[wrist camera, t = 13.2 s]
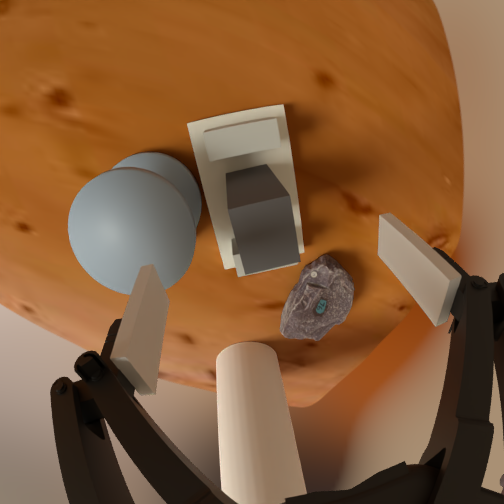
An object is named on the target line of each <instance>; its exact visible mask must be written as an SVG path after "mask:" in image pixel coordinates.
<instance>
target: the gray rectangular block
mask: <svg viewBox="0 0 504 504" xmlns="http://www.w3.org/2000/svg"><path fill="white" fill-rule="evenodd" d="M225 174H226V191H227V208H228V213H229V217H230V221H231V224H232V228H233V232H234V235H235V239H236V243H237V246H238V250H239V254H240V257H241V261H242V265H243V268H244V272H245V275H247V274H251V273H256V272H260V271H264V270H268V269H272V268H277V267H281V266H285V265H289V264H293V263H297V262H301V261H300V254H299V248H298V241H297V235H296V228H295V222H294V216H293V210H292V204H291V198H290V195H289V193H288V192H287V190H286V189H285V188H284V186H283V185H282V184H281V182H280V181H279V180H278V178H277V177H276V176H275V174H274V173H273V172H272V170H271V169H270V168H269V167H268V165H267V164H264V165H259V166H255V167H250V168H246V169H242V170H237V171H233V172H229V173H225Z"/></svg>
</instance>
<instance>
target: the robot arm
mask: <svg viewBox="0 0 504 504" xmlns="http://www.w3.org/2000/svg"><path fill="white" fill-rule="evenodd" d="M378 256H379V257H380V258H381V259H382V260H383V262H384V263H385V264H386V265H387V266H388V267H389V269H390V270H391V271H392V272H393V273H394V275H395V276H396V277H397V278H398V279H399V281H400V282H401V283H402V284H403V285H404V287H405V288H406V289H407V290H408V292H409V293H410V294H411V295H412V297H413V298H414V299H415V300H416V302H417V303H418V304H419V305H420V307H421V308H422V309H423V311H424V312H425V313H426V315H427V316H428V317H429V319H430V320H431V321H432V323H433V324H434V325H435V327H436V326H438V325H440V324H443V323H445V322H447V320H448V317H449V315H450V312H451V314H452V315H453V316H454V319H453V322H452V324H451V327H450V330H449V332H448V333H450V332H451V330H452V332H451V342H450V349H449V357H448V364H447V370H446V375H445V381H444V387H443V391H442V396H441V400H440V404H439V409H438V413H437V417H436V420H435V424H434V428H433V431H432V434H431V438H430V441H429V444H428V446H427V448H426V450H425V452H424V453H423V455H422V457H421V459H420V462H419V464H411V465H406V463H405V461H404V462H402V463H399V464H397V465H395V466H392V467H390V468H388V469H385V470H383V471H380V472H378V473H376V474H375V475H373V476H372V477H370V478H368V479H367V480H365V481H364V482H362V483H361V484H359V485H357V486H355V487H353V488H352V489H349V490H340V491H321V492H312V493H308V494H304V495H299V496H294V497H289V498H285V502H283V503H281V504H504V474H503V475H502V477H501V479H500V485H501V486H502V487H503V490H502V493H501V494H500V493H497V492H494V491H492V490H489V489H486V488H483V487H481V485H482V482H483V478H484V475H485V471H486V467H487V463H488V459H489V454H490V449H491V444H492V439H493V434H494V426H493V424H492V423H490V422H489V414H490V406H491V397H492V385H493V366H494V364H495V369H496V374H497V380H498V387H499V394H500V401H501V410H502V420H503V436H504V273H502V274H501V275H500V276H499V279H498V282H494V283H488V282H487V281H486V280H485V279H484V278H482V277H479V276H469V275H468V274H467V273H466V272H465V271H464V270H463V269H462V268H461V267H460V266H459V265H458V264H457V263H456V262H454V260H453V259H451V258H450V257H449V256H448V255H447V254H446V253H445V252H444V251H442V250H440V249H438V248H436V247H434V248H431V247H430V246H429V245H428V244H427V243H426V242H425V241H424V240H422V239H421V238H420V237H419V236H418V235H417V234H415V233H414V232H413V231H412V230H411V229H409V228H408V227H407V226H406V225H405V224H403V223H402V222H401V221H400V220H399V219H397V218H396V217H395V216H394V215H392V214H391V213H386V214H381V215H379V240H378ZM169 302H170V301H169V299H168V296H167V294H166V292H165V290H164V287H163V285H162V283H161V281H160V278H159V276H158V274H157V271H156V269H155V267H154V264H149V265H145V266H141V268H140V271H139V273H138V276H137V279H136V281H135V284H134V287H133V289H132V292H131V295H130V298H129V301H128V303H127V306H126V309H125V312H124V315H123V318H122V319H116V320H115V321H114V323H113V324H112V325H111V326H110V329H109V332H108V334H107V335H108V336H107V337H106V340H105V343H104V346H103V349H102V352H101V356H100V355H99V354H98V353H97V352H96V351H87V352H85V353H83V354H82V355H81V356H79V357H78V359H77V360H76V362H75V365H74V368H75V372H76V373H77V374H78V375H79V376H80V377H81V378H82V380H79V381H76V382H72V381H71V380H70V379H69V378H68V377H61V378H59V379H57V380H56V381H55V382H54V384H53V385H52V387H51V392H50V395H51V408H52V418H53V426H54V435H55V442H56V447H57V454H58V458H59V464H60V469H61V473H62V478H63V482H64V486H65V490H66V493H67V497H68V500H69V503H70V504H135V503H134V501H133V499H132V497H131V494H130V492H129V490H128V487H127V485H126V483H125V480H124V477H123V475H122V472H121V470H120V467H119V464H118V461H117V458H116V456H115V453H114V450H113V447H112V443H111V441H110V437H109V434H108V430H107V427H106V424H105V420H104V418H105V419H106V421H107V423H108V424H109V426H110V427H111V429H112V431H113V433H114V434H115V436H116V437H117V439H118V440H119V441H120V443H121V445H122V446H123V448H124V449H125V451H126V452H127V453H128V455H129V456H130V458H131V459H132V461H133V462H134V463H135V465H136V466H137V467H138V469H139V470H140V471H141V473H142V474H143V475H144V477H145V478H146V479H147V480H148V482H149V483H150V484H151V485H152V487H153V488H154V489H155V490H156V491H157V493H158V494H159V495H160V496H161V497H162V498H163V500H164V501H165V502H166V503H167V504H238V503H237V502H235V501H234V500H232V499H231V498H230V497H229V496H228V495H226V494H225V493H224V492H223V491H222V490H221V489H219V488H218V487H217V486H216V485H215V484H214V483H213V482H212V481H210V480H209V479H208V478H207V477H206V476H205V475H204V474H203V473H202V472H201V471H200V470H199V469H198V468H197V467H196V466H195V465H194V464H192V462H191V461H190V460H189V459H188V458H187V457H186V456H185V455H184V454H183V453H182V452H181V451H180V450H179V449H178V448H177V447H176V446H175V445H174V443H173V442H172V441H171V440H170V439H169V438H168V437H167V436H166V435H165V433H164V432H163V431H162V430H161V429H160V428H159V427H158V425H157V424H156V423H155V422H154V420H153V419H152V418H151V417H150V416H149V415H148V413H147V412H146V411H145V409H144V408H143V407H142V406H141V404H140V403H139V402H138V400H137V399H136V398H135V397H134V391H135V389H136V391H137V392H138V393H139V394H140V395H154V394H156V387H157V379H158V371H159V364H160V357H161V350H162V343H163V337H164V331H165V325H166V319H167V313H168V307H169ZM503 439H504V437H503Z"/></svg>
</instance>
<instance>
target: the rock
mask: <svg viewBox="0 0 504 504" xmlns="http://www.w3.org/2000/svg"><path fill="white" fill-rule="evenodd" d="M352 280H353V279H352V277H351V276H350V275H349V274H348V273H347V272H346V270H344V269H343V267H342V266H341V265H340V264H339V263H338V262H337V261H336V260H335V259H333V258H332V257H331V256H330V255H326V254H325V255H323V256H320V257H319V258H318V259H317V260H315V261H314V262H313V263H312V264H309V265H306V266H305V267H304V269H303V270H302V272H301V275H300V279H299V282H298V283H297V284H296V285H295V286H294V288H293V290H292V291H291V293H290V295H289V297H288V299H287V302H286V303H285V306H284V309H283V312H282V315H281V325H280V332H281V333H282V335H283V336H284V337H286V338H289V339H292V338H296V339H303V338H305V339H306V338H309V339H314V340H316V341H319V340H320V339H321V338H322V337H323V336H324V335H325V334H326V333H327V332H328V331H329V330H330V329H331V328H332V327H333V326H334V325H335V324H338V325H339V324H341V323H342V322H343V321H344V320H345V319H346V317H347V315H348V313H349V311H350V309H351V306H352V301H353V293H354V290H355V289H354V283H353V282H352Z"/></svg>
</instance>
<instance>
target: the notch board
mask: <svg viewBox="0 0 504 504" xmlns="http://www.w3.org/2000/svg"><path fill="white" fill-rule="evenodd" d="M187 125H188V130H189V134H190V138H191V142H192V146H193V150H194V154H195V159H196V163H197V167H198V171H199V174H200V178H201V182H202V186H203V190H204V194H205V198H206V202H207V205H208V209H209V213H210V217H211V221H212V224H213V228H214V232H215V235H216V239H217V243H218V246H219V250H220V253H221V257H222V261H223V264H224V268H225V269H229V268H234V267H236V270H237V274H238V277H241V276H246V275H245V272H244V268H243V265H242V261H241V257H240V254H239V250H238V246H237V243H236V239H235V235H234V232H233V228H232V224H231V221H230V217H229V213H228V208H227V191H226V174H225V173H229V172H233V171H237V170H242V169H246V168H250V167H255V166H259V165H264V164H267V165H268V167H269V168H270V169H271V170H272V172H273V173H274V174H275V176H276V177H277V178H278V180H279V181H280V182H281V184H282V185H283V186H284V188H285V189H286V190H287V192H288V193H289V195H290V198H291V204H292V210H293V216H294V222H295V228H296V235H297V241H298V248H299V253H304V244H303V235H302V226H301V218H300V210H299V202H298V194H297V187H296V180H295V173H294V166H293V159H292V153H291V146H290V140H289V134H288V128H287V122H286V116H285V110H284V105H274V106H268V107H262V108H256V109H250V110H244V111H239V112H234V113H229V114H224V115H220V116H215V117H211V118H207V119H202V120H198V121H194V122H190V123H187ZM296 264H298V262H297V263H293V264H289V265H285V266H281V267H277V268H272V269H268V270H264V271H269V270H274V269H278V268H283V267H287V266H292V265H296ZM264 271H260V272H264ZM260 272H256V273H260ZM251 274H255V273H251ZM247 275H250V274H247Z"/></svg>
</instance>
